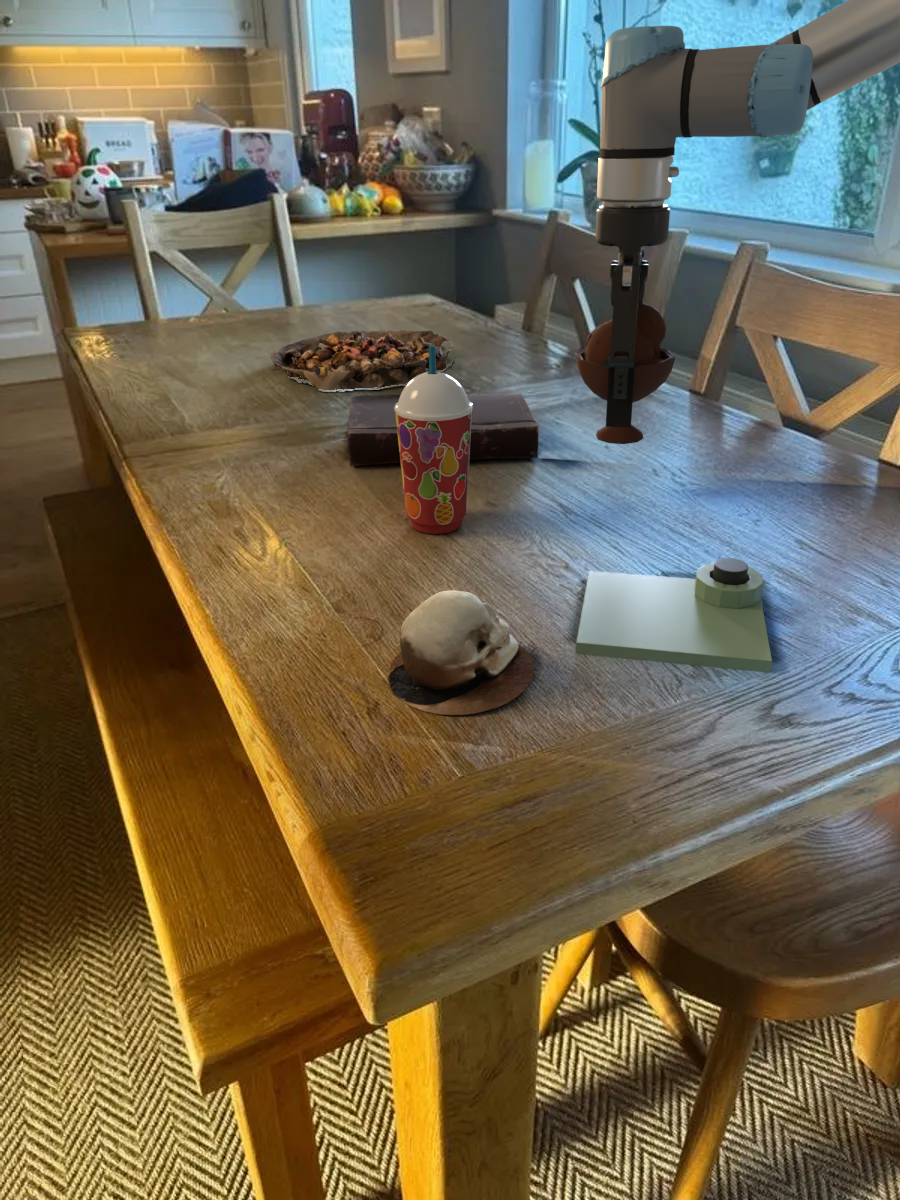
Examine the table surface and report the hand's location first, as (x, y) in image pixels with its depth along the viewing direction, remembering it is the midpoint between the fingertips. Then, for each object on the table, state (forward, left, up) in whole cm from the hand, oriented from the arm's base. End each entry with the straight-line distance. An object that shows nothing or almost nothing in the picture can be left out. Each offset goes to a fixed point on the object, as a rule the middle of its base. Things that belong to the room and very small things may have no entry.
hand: (620, 411), depth 104 cm
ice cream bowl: (0, 0, -3) cm, 3 cm away
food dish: (+48, -56, -11) cm, 75 cm away
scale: (-7, +30, -11) cm, 32 cm away
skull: (+10, +42, -11) cm, 44 cm away
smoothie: (+19, +12, -11) cm, 25 cm away
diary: (+25, -16, -11) cm, 32 cm away
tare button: (-12, +25, -8) cm, 29 cm away
